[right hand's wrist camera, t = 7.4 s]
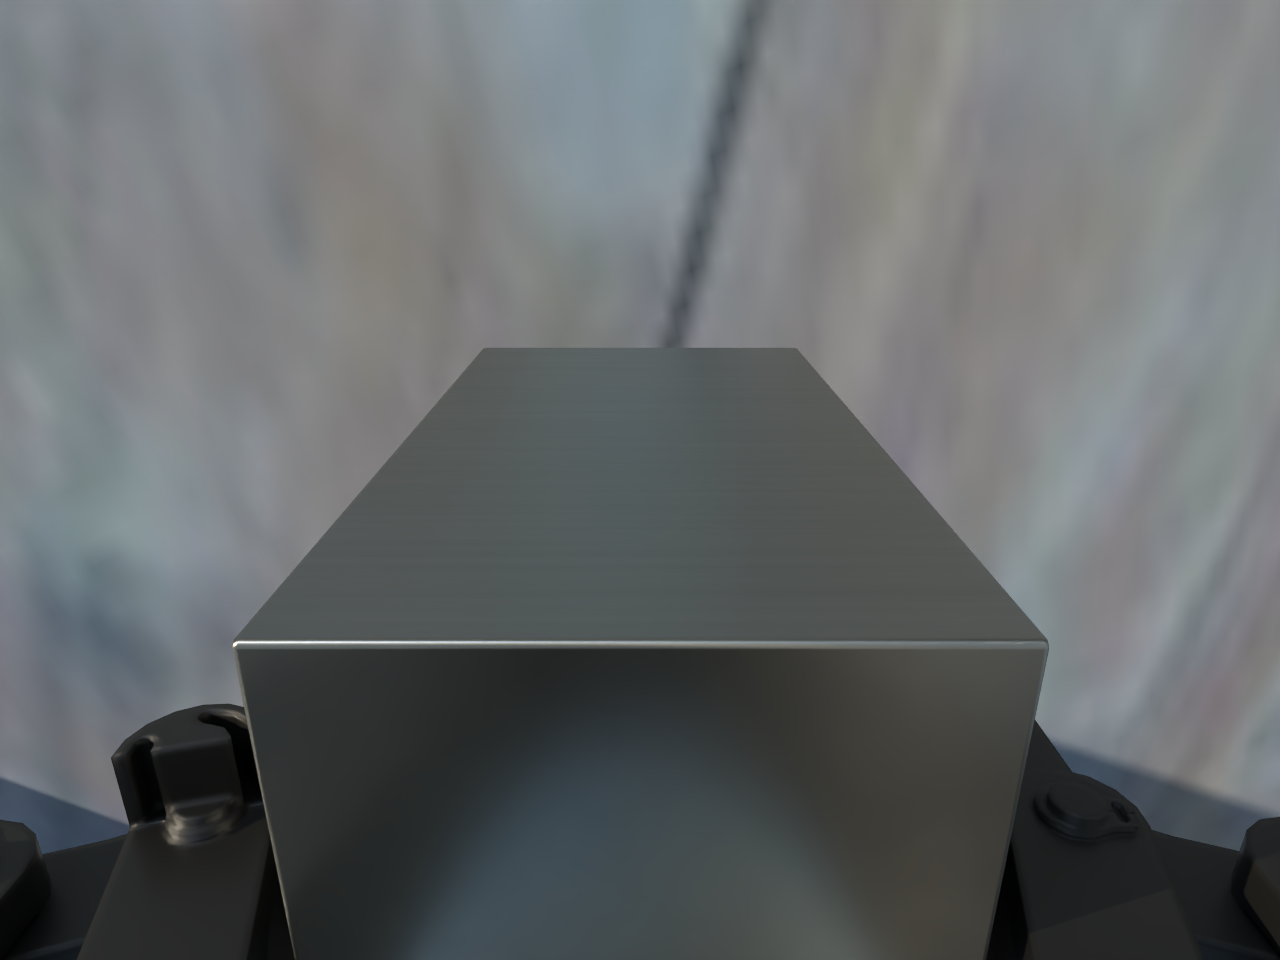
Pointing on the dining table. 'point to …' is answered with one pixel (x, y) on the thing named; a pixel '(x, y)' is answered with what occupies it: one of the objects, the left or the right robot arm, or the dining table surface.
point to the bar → (640, 682)
